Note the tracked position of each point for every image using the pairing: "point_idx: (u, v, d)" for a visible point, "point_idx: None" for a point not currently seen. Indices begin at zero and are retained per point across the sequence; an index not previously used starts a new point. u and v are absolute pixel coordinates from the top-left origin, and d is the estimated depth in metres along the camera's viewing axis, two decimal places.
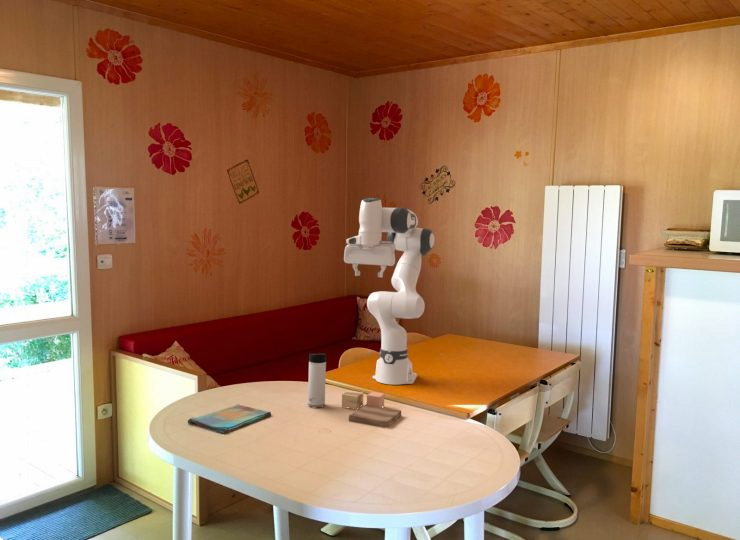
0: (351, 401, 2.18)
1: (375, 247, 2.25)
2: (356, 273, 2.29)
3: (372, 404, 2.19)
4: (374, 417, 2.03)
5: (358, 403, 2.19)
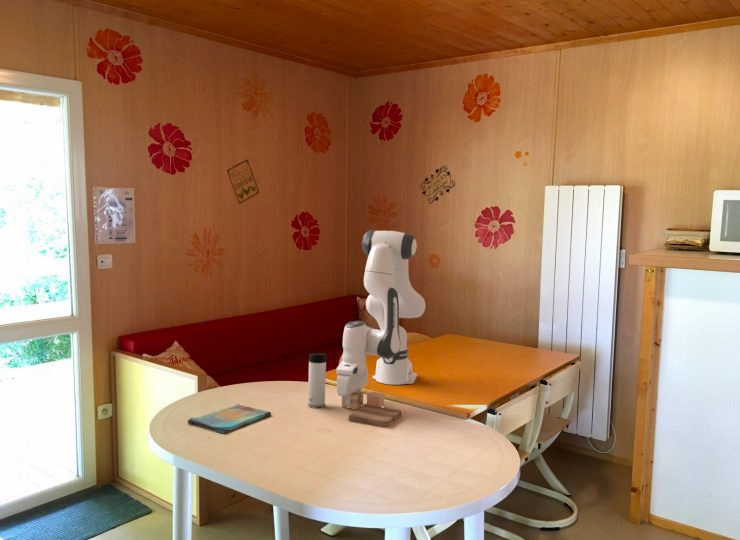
0: None
1: None
2: (350, 402, 2.17)
3: (372, 404, 2.19)
4: (374, 417, 2.03)
5: (358, 402, 2.18)
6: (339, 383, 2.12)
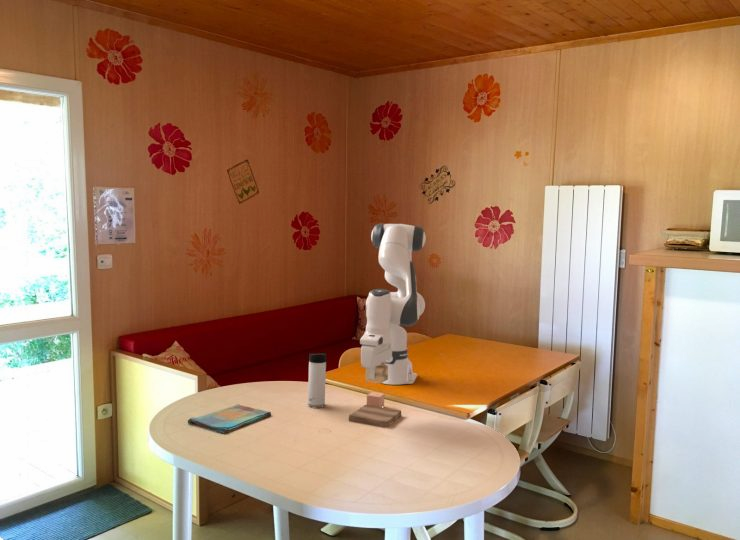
0: None
1: None
2: (375, 375, 2.03)
3: (372, 404, 2.19)
4: (374, 417, 2.03)
5: (382, 376, 2.04)
6: (363, 354, 1.98)
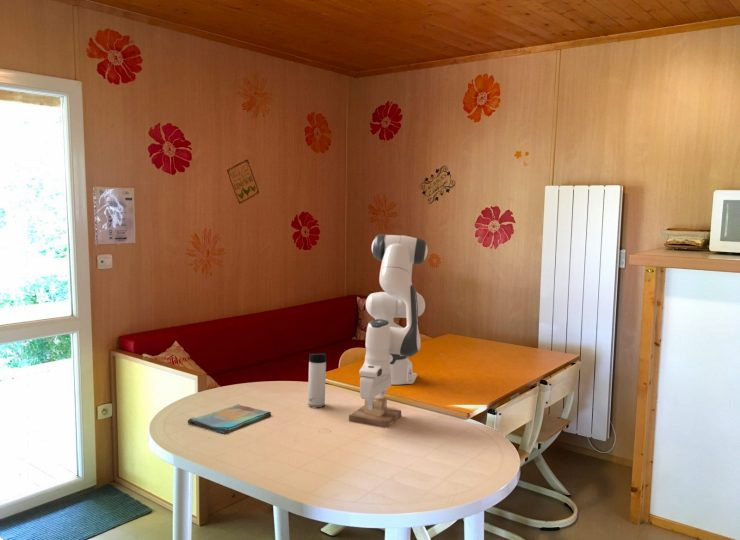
0: (374, 407, 2.05)
1: None
2: (373, 407, 2.03)
3: None
4: (374, 417, 2.03)
5: (382, 409, 2.05)
6: (362, 386, 1.99)
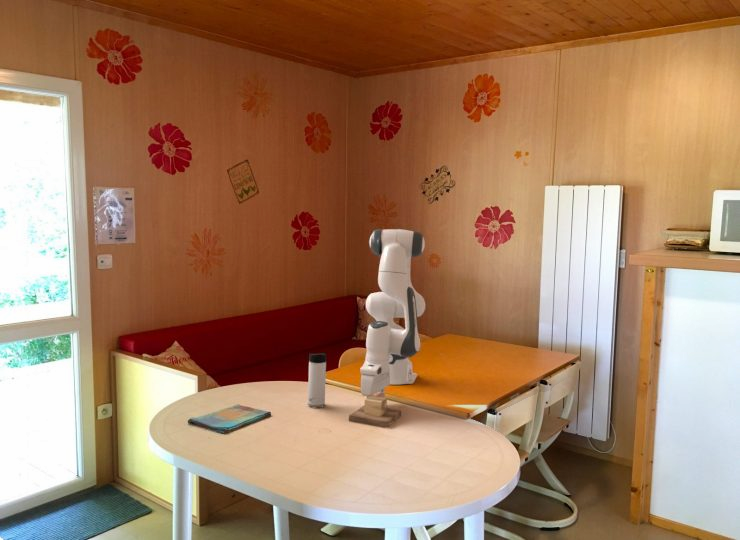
0: (374, 407, 2.05)
1: None
2: None
3: None
4: (374, 417, 2.03)
5: (382, 409, 2.05)
6: (363, 383, 2.11)
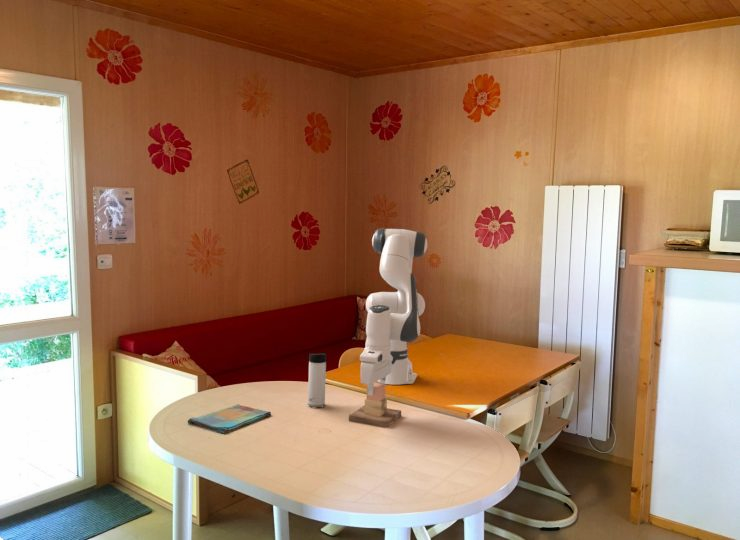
0: (374, 407, 2.05)
1: None
2: (373, 392, 2.03)
3: (372, 395, 2.05)
4: (374, 417, 2.03)
5: (382, 409, 2.05)
6: (363, 371, 1.98)
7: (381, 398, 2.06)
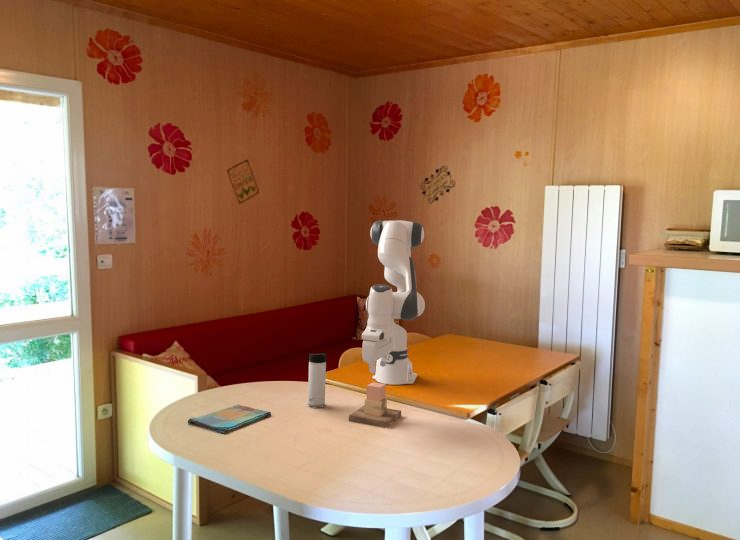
0: (374, 407, 2.05)
1: None
2: (375, 370, 2.06)
3: (372, 395, 2.05)
4: (374, 417, 2.03)
5: (382, 409, 2.05)
6: (365, 349, 2.01)
7: (381, 398, 2.06)
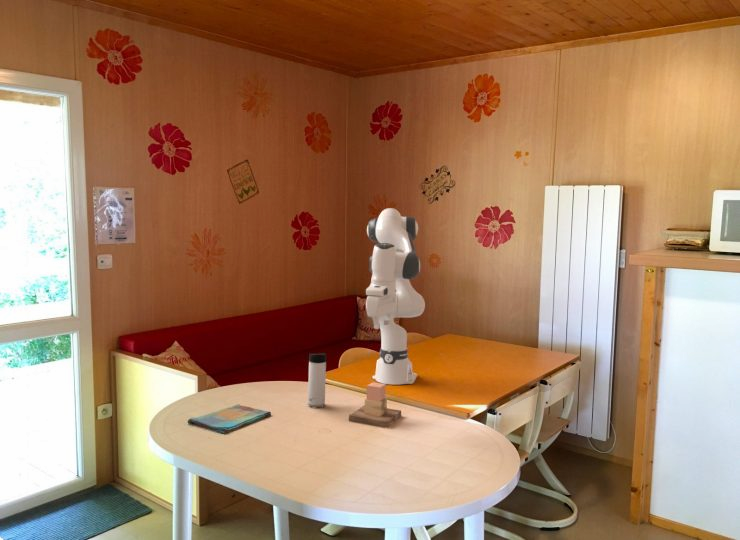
0: (374, 407, 2.05)
1: None
2: (379, 326, 2.09)
3: (372, 395, 2.05)
4: (374, 417, 2.03)
5: (382, 409, 2.05)
6: (369, 304, 2.05)
7: (381, 398, 2.06)
